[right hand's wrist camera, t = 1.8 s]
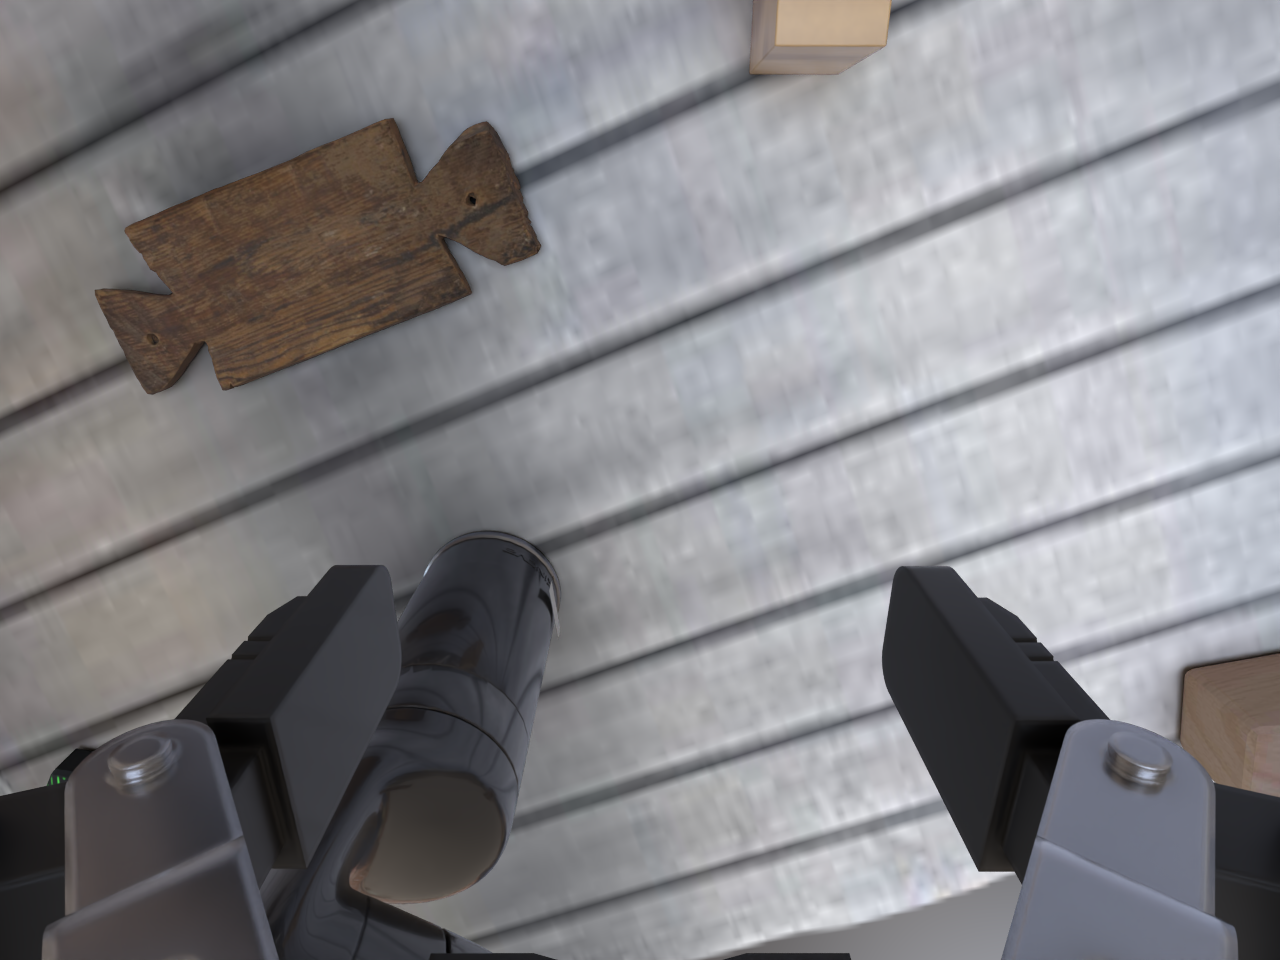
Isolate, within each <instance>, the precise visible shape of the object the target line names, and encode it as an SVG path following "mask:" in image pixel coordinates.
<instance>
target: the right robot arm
mask: <svg viewBox="0 0 1280 960" xmlns="http://www.w3.org/2000/svg"><path fill="white" fill-rule="evenodd" d="M560 599H561V591H560V584H559V580H558V577H557V575H556V573H555V570H554V569H553V567H552V565H551V564H550V562H549V561H548V560H547V558H546V557H545V556H544V555H543V554H542V553H541V552H540V551H539V550H537V549H536V548H535V547H534V546H532V545H531V544H529V543H527V542H526V541H524V540H522V539H520V538H517V537H515V536H512V535H509V534H504V533H499V532H475V533H470V534H466V535H463V536H460V537H458V538H455V539H454V540H452V541H450V542H448V543H447V544H446V545H444V546H443V547H442V548H441V549H440V550H439V551H438V552H437V553H436V554H435V556H434V557H433V558H432V560H431V562H430V563H429V565H428V567H427V569H426V571H425V574H424V577H423V579H422V581H421V582H420V584H419V586H418V587H417V589H416V591H415V592H414V594H413V596H412V597H411V599H410V601H409V603H408V604H407V606H406V608H405V610H404V611H403V613H402V615H401V617H400V618H399V620H398V622H397V618H396V611H395V604H394V598H393V591H392V584H391V579H390V575H389V572H388V570H387V568H386V567H385V566H383V565H335V566H333V567H331V568H330V569H329V571H328V572H327V573H326V574H325V575H324V577H323V578H322V579H321V580H320V581H319V583H318V584H317V585H316V586H315V587H314V589H313V590H312V591H311V592H310V593H309V595H308V596H297V597H296V598H294V599H292V600H291V601H289V602H288V603H286V604H284V605H283V606H281V607H279V608H278V609H276V610H275V611H273V612H271V613H270V614H268V615H267V616H266V617H265V618H264V619H263V620H262V622H261V623H260V624H259V625H258V626H257V627H256V628H255V629H254V631H253V632H252V633H251V634H250V635H249V636H248V641H244V642H243V643H242V644H241V645H240V646H239V647H238V649H237V650H236V651H235V652H234V653H233V654H232V659H228V660H227V661H226V662H225V663H224V664H223V665H222V666H221V668H220V669H219V670H218V671H217V672H216V673H215V674H214V675H213V677H212V678H211V679H210V680H209V681H208V682H207V683H206V684H205V686H204V687H203V688H202V689H201V690H200V691H199V692H198V693H197V695H196V696H195V697H194V698H193V699H192V700H191V701H190V702H189V704H188V705H187V706H186V707H185V708H184V709H183V710H182V711H181V712H180V714H179V715H178V716H177V717H176V718H175V719H174V720H166V721H160V722H156V723H151V724H148V725H145V726H142V727H138V728H136V729H133V730H131V731H128V732H126V733H124V734H122V735H120V736H118V737H116V738H114V739H112V740H110V741H108V742H107V743H105V744H103V745H102V746H100V747H99V748H98V749H96V750H95V751H93V752H92V753H91V754H90V755H88V756H87V757H86V758H85V759H84V760H83V761H82V762H81V763H80V764H79V765H78V766H77V767H76V768H75V769H74V771H73V772H72V774H71V775H70V776H69V779H68V781H67V782H62V783H58V784H53V785H49V786H44V787H40V788H35V789H31V790H26V791H21V792H17V793H12V794H8V795H3V796H0V960H556V959H552V958H549V957H545V956H541V955H538V954H534V953H492V952H490V951H489V950H487V949H485V948H483V947H482V946H480V945H478V944H476V943H474V942H472V941H470V940H468V939H466V938H463V937H461V936H459V935H457V934H455V933H453V932H451V931H449V930H446V929H441V927H439V926H437V925H435V924H432V923H430V922H428V921H426V920H423V919H421V918H419V917H417V916H414V915H412V914H410V913H407V912H405V911H403V910H401V909H398V908H396V907H394V906H392V905H389V904H414V903H424V902H430V901H435V900H439V899H443V898H447V897H450V896H452V895H455V894H457V893H460V892H462V891H464V890H466V889H468V888H469V887H471V886H473V885H474V884H476V883H477V882H479V881H480V880H481V879H482V878H483V877H485V876H486V875H487V874H488V873H489V872H490V871H491V870H492V869H493V867H494V866H495V865H496V863H497V862H498V860H499V858H500V857H501V855H502V853H503V851H504V849H505V847H506V845H507V842H508V839H509V836H510V832H511V828H512V824H513V819H514V814H515V809H516V804H517V799H518V795H519V790H520V785H521V780H522V776H523V771H524V766H525V761H526V756H527V752H528V746H529V741H530V736H531V731H532V727H533V722H534V717H535V712H536V708H537V703H538V698H539V693H540V689H541V684H542V679H543V674H544V670H545V665H546V660H547V655H548V651H549V646H550V641H551V637H552V632H553V627H554V623H555V624H556V630H557V635H558V639H559V634H560V625H559V619H558V611H559V606H560ZM882 667H883V675H884V680H885V684H886V687H887V689H888V692H889V694H890V696H891V698H892V700H893V702H894V704H895V706H896V708H897V710H898V712H899V714H900V716H901V718H902V720H903V722H904V724H905V726H906V728H907V730H908V732H909V734H910V736H911V738H912V740H913V742H914V744H915V746H916V748H917V750H918V752H919V754H920V756H921V758H922V760H923V762H924V764H925V766H926V768H927V770H928V772H929V774H930V776H931V778H932V779H933V781H934V783H935V785H936V787H937V789H938V791H939V793H940V795H941V797H942V799H943V801H944V803H945V805H946V807H947V809H948V811H949V813H950V815H951V817H952V819H953V821H954V823H955V825H956V827H957V829H958V831H959V833H960V835H961V837H962V839H963V841H964V843H965V845H966V847H967V849H968V851H969V853H970V855H971V857H972V859H973V861H974V863H975V865H976V867H977V869H978V871H979V872H1015V873H1016V875H1017V877H1018V878H1019V880H1020V882H1021V884H1022V888H1021V891H1020V895H1019V898H1018V902H1017V905H1016V909H1015V912H1014V916H1013V920H1012V923H1011V927H1010V930H1009V934H1008V937H1007V941H1006V944H1005V948H1004V951H1003V955H1002V958H1001V960H1280V797H1276V796H1272V795H1267V794H1263V793H1258V792H1253V791H1249V790H1244V789H1240V788H1235V787H1231V786H1226V785H1222V784H1218V783H1214V782H1213V781H1212V779H1211V776H1210V775H1209V774H1208V772H1207V771H1206V769H1205V768H1204V767H1203V766H1202V765H1201V764H1200V763H1199V762H1198V761H1197V760H1196V759H1195V758H1194V757H1193V756H1192V755H1190V754H1189V753H1188V752H1187V751H1185V750H1184V749H1182V748H1181V747H1180V746H1178V745H1177V744H1175V743H1173V742H1172V741H1170V740H1168V739H1166V738H1164V737H1162V736H1160V735H1158V734H1156V733H1154V732H1152V731H1149V730H1147V729H1144V728H1142V727H1138V726H1135V725H1132V724H1129V723H1124V722H1120V721H1114V720H1110V719H1109V718H1108V717H1107V716H1106V715H1105V713H1104V712H1103V711H1102V710H1101V709H1100V708H1099V707H1098V706H1097V705H1096V703H1095V702H1094V701H1093V700H1092V699H1091V698H1090V697H1089V696H1088V695H1087V693H1086V692H1085V691H1084V690H1083V689H1082V688H1081V687H1080V686H1079V685H1078V683H1077V682H1076V681H1075V680H1074V679H1073V678H1072V677H1071V676H1070V674H1069V673H1068V672H1067V671H1066V670H1065V669H1064V668H1063V667H1062V666H1061V664H1060V663H1059V662H1058V661H1054V660H1053V656H1052V654H1051V653H1050V652H1049V651H1048V650H1047V649H1046V648H1045V647H1044V646H1043V644H1042V643H1037V638H1036V637H1035V636H1034V634H1033V633H1032V632H1031V631H1030V630H1029V629H1028V628H1027V627H1026V626H1025V624H1024V623H1023V622H1022V621H1021V620H1020V619H1019V618H1018V617H1017V616H1016V615H1014V614H1013V613H1011V612H1009V611H1008V610H1006V609H1004V608H1003V607H1001V606H1000V605H998V604H996V603H995V602H993V601H991V600H990V599H988V598H977V596H976V595H975V594H974V593H973V592H972V590H971V589H970V588H969V587H968V586H967V584H966V583H965V582H964V581H963V580H962V579H961V577H960V576H959V575H958V574H957V573H956V571H955V570H954V569H953V568H951V567H948V566H901V567H899V568H898V569H897V571H896V573H895V575H894V579H893V584H892V591H891V597H890V604H889V611H888V617H887V624H886V630H885V637H884V643H883V651H882ZM724 960H851V958H850V954H849V953H746V954H742V955H739V956H735V957H731V958H728V959H724Z"/></svg>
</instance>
